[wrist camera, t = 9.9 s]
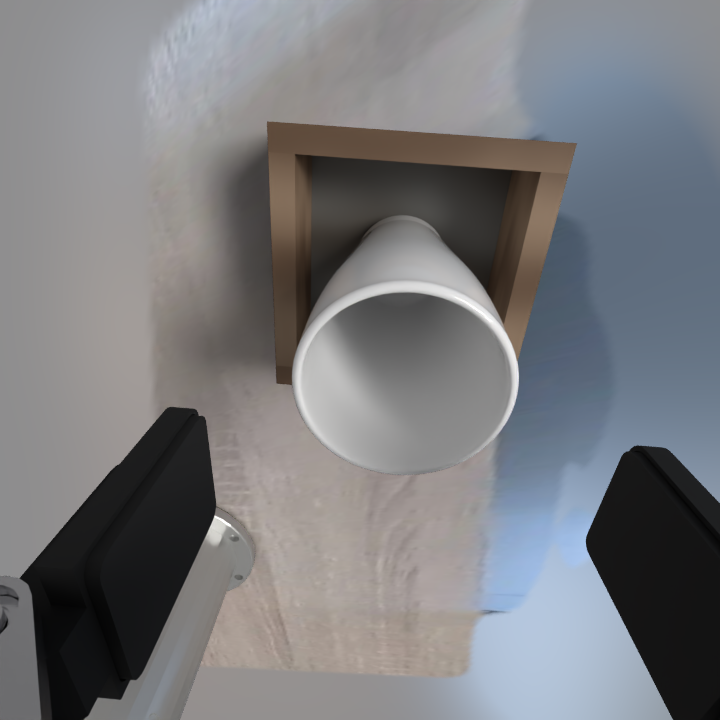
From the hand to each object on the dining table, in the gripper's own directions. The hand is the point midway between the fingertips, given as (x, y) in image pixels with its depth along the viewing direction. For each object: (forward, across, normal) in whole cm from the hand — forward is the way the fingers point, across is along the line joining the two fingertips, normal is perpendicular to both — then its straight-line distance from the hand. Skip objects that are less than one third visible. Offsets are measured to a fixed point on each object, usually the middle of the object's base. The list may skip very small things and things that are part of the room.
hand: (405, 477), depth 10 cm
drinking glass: (+18, 0, -1) cm, 18 cm away
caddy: (+19, 0, -1) cm, 19 cm away
